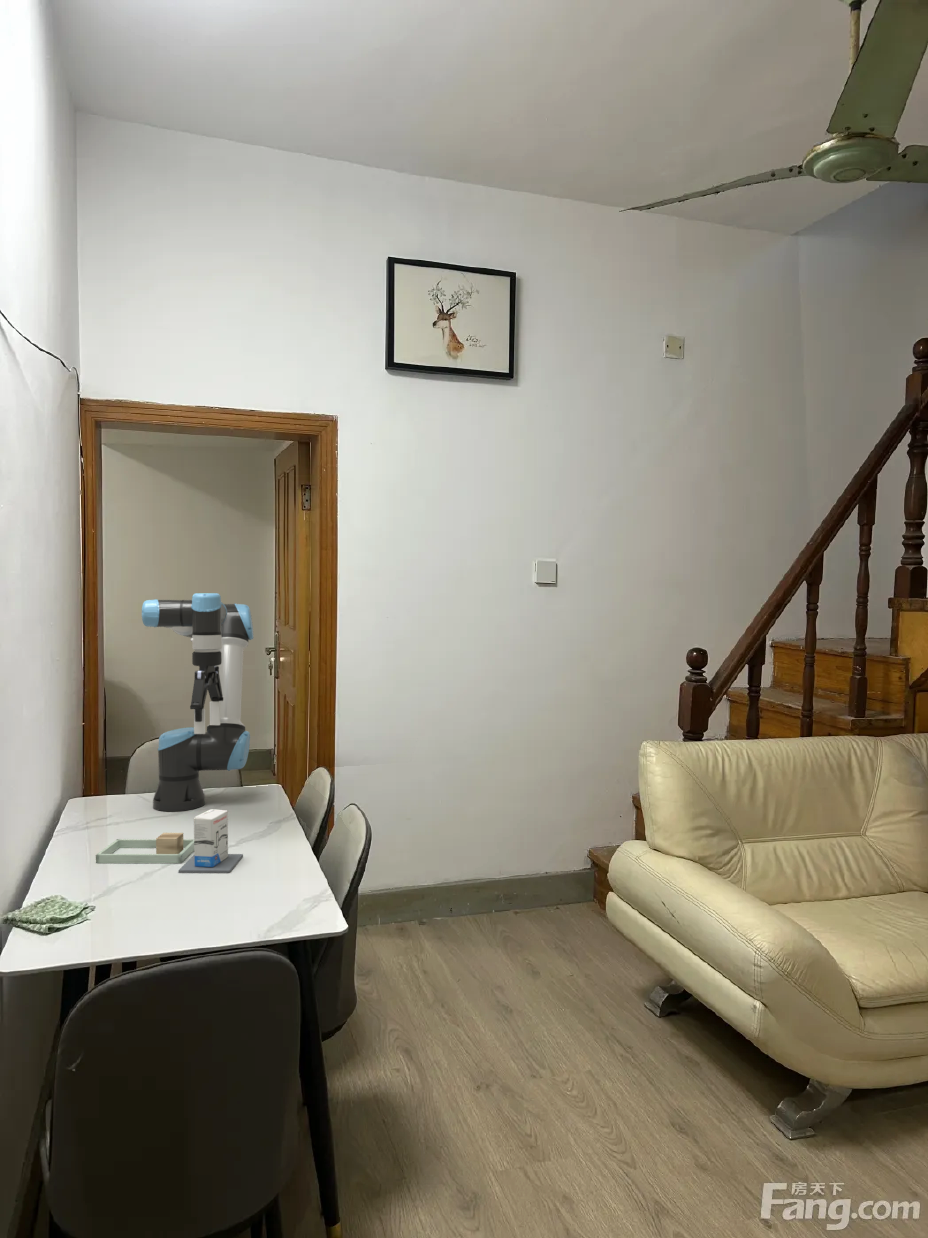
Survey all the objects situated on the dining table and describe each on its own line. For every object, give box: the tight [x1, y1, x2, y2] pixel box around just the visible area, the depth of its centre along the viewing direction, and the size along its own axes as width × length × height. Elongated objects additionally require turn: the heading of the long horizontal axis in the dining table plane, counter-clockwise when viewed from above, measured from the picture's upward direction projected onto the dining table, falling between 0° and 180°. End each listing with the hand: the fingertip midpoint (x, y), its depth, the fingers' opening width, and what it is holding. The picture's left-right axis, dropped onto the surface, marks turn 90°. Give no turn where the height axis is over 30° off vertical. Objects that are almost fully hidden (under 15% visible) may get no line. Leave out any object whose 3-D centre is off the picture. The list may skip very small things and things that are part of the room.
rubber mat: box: [178, 853, 244, 874], centre depth 202 cm, size 12×12×1 cm
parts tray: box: [95, 838, 194, 864], centre depth 209 cm, size 13×21×2 cm, turn 90°
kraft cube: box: [155, 832, 184, 854], centre depth 209 cm, size 5×5×5 cm
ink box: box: [193, 808, 229, 867], centre depth 202 cm, size 9×5×12 cm, turn 169°
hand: (207, 729), depth 225 cm, fingers open, 13 cm apart
